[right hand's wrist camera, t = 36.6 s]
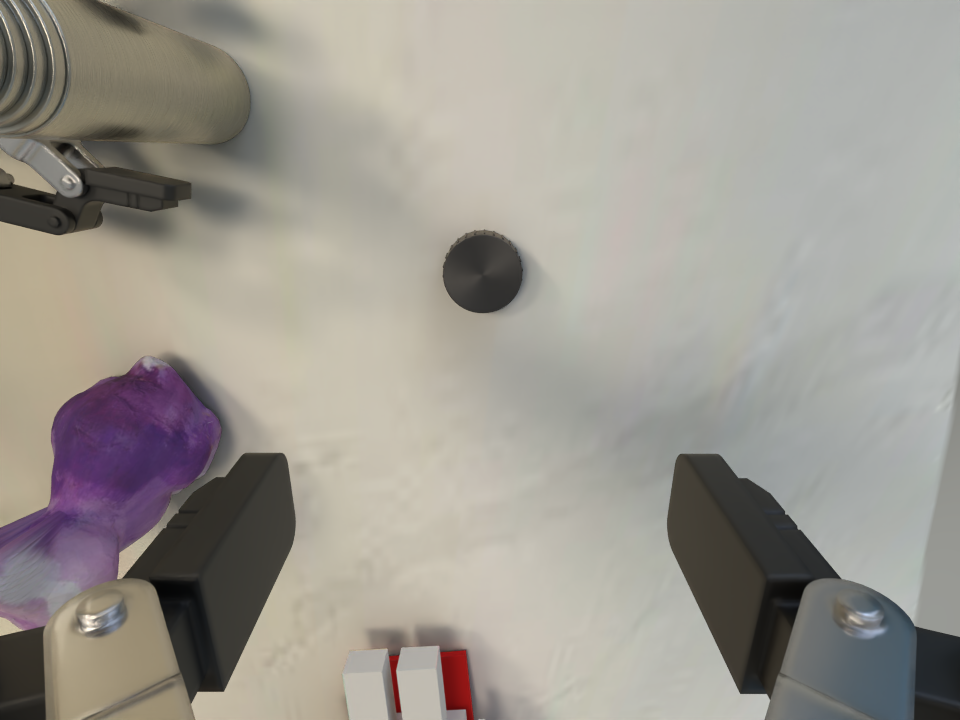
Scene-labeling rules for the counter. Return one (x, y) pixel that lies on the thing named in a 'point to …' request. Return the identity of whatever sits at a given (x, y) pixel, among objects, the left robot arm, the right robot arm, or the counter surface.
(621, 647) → the counter surface
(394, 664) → the toy
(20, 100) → the bottle
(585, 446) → the counter surface
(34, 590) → the figurine
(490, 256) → the cap
